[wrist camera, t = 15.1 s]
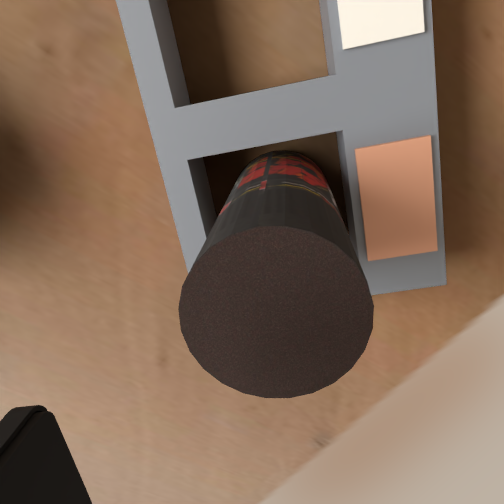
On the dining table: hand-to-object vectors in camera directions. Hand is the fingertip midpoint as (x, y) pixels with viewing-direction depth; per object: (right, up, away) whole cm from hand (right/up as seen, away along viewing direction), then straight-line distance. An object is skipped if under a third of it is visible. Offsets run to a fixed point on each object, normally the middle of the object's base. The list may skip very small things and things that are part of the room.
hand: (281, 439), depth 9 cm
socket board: (+1, +12, +17) cm, 21 cm away
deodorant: (+1, +7, +19) cm, 20 cm away
